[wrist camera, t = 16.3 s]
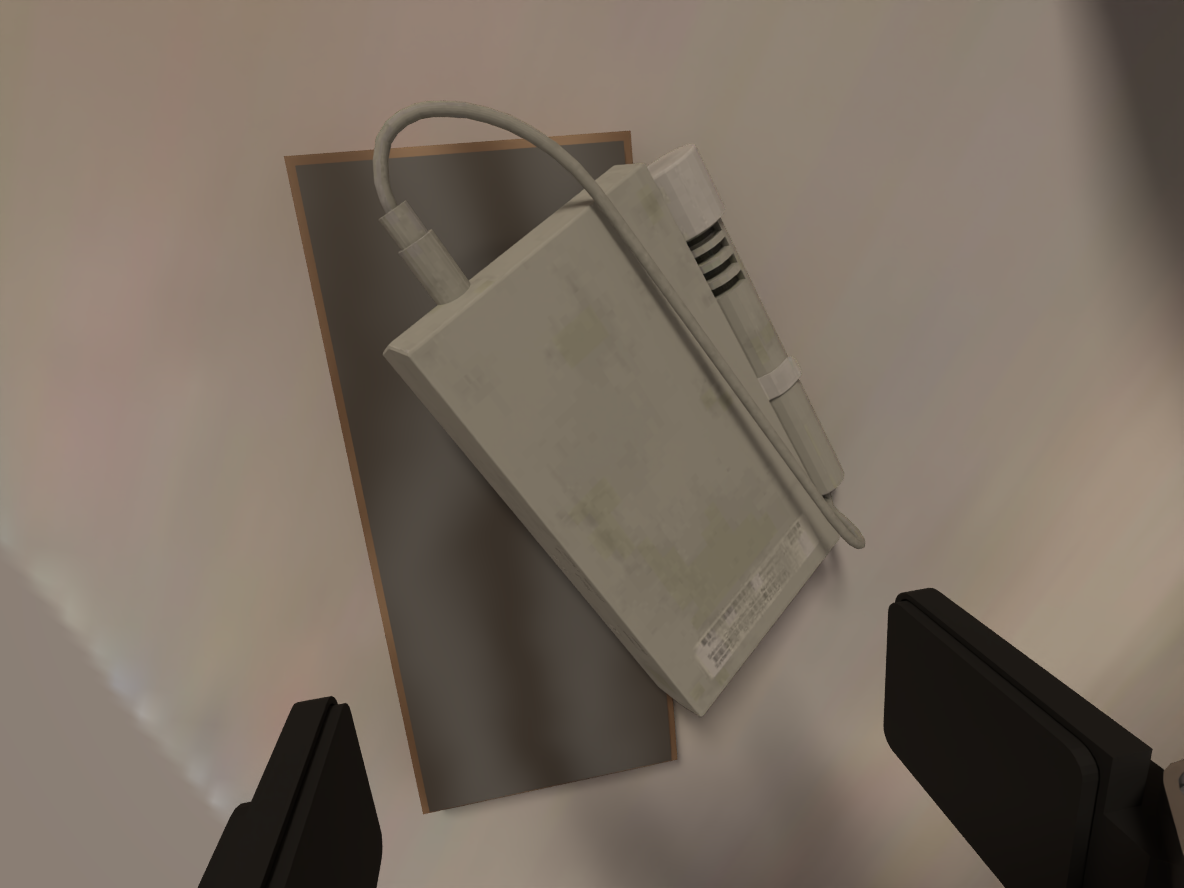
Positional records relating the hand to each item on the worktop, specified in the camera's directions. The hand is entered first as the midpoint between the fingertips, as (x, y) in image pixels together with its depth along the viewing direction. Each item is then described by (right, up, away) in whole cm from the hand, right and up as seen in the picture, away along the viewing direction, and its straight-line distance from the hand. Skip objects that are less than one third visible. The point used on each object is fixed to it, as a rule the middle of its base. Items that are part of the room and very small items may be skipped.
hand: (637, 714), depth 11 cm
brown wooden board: (-5, +2, +20) cm, 20 cm away
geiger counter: (-3, +2, +12) cm, 12 cm away
